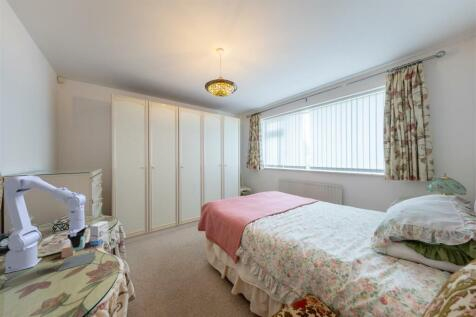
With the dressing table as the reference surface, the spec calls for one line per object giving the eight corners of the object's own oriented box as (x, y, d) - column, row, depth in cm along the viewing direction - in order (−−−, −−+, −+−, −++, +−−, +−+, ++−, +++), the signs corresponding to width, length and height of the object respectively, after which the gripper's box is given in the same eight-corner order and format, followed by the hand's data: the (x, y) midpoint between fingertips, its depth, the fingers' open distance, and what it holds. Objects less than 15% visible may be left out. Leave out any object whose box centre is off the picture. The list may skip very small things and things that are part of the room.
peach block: (61, 258, 93) (61, 248, 93) (64, 254, 97) (64, 245, 97) (73, 255, 95) (72, 246, 95) (75, 251, 99) (75, 242, 99)
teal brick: (70, 251, 87) (70, 241, 87) (73, 247, 91) (73, 238, 91) (82, 249, 89) (82, 239, 89) (84, 245, 93) (84, 235, 93)
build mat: (57, 271, 82) (57, 270, 82) (66, 258, 92) (66, 257, 92) (90, 263, 88) (90, 262, 88) (95, 251, 98) (95, 251, 98)
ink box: (98, 245, 105) (97, 226, 105) (89, 245, 105) (89, 226, 105) (108, 238, 114) (108, 220, 114) (101, 238, 114) (100, 220, 114)
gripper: (83, 221, 86) (84, 249, 86) (90, 213, 98) (91, 237, 98) (63, 224, 82) (64, 253, 82) (73, 215, 95) (74, 240, 95)
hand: (77, 245), depth 90 cm, fingers closed on teal brick, 4 cm apart
